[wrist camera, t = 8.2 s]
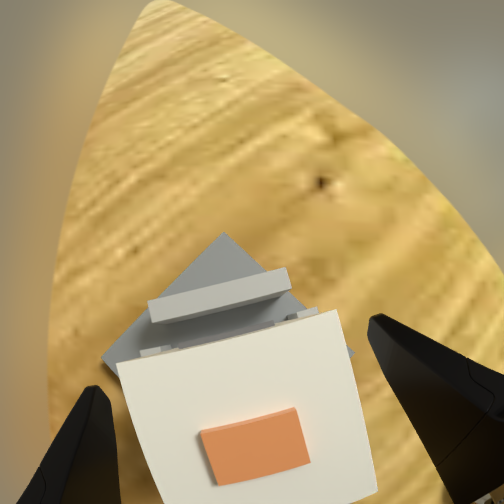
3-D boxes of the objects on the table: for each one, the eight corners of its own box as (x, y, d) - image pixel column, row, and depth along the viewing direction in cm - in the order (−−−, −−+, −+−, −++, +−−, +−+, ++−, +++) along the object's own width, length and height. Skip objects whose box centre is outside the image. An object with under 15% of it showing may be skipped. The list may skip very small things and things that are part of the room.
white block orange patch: (290, 400, 16) (382, 495, 5) (211, 421, 15) (182, 548, 4) (269, 321, 17) (338, 300, 6) (188, 341, 16) (109, 357, 5)
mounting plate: (235, 472, 15) (236, 505, 11) (108, 356, 17) (77, 360, 13) (351, 353, 18) (382, 356, 14) (225, 236, 19) (223, 210, 15)
